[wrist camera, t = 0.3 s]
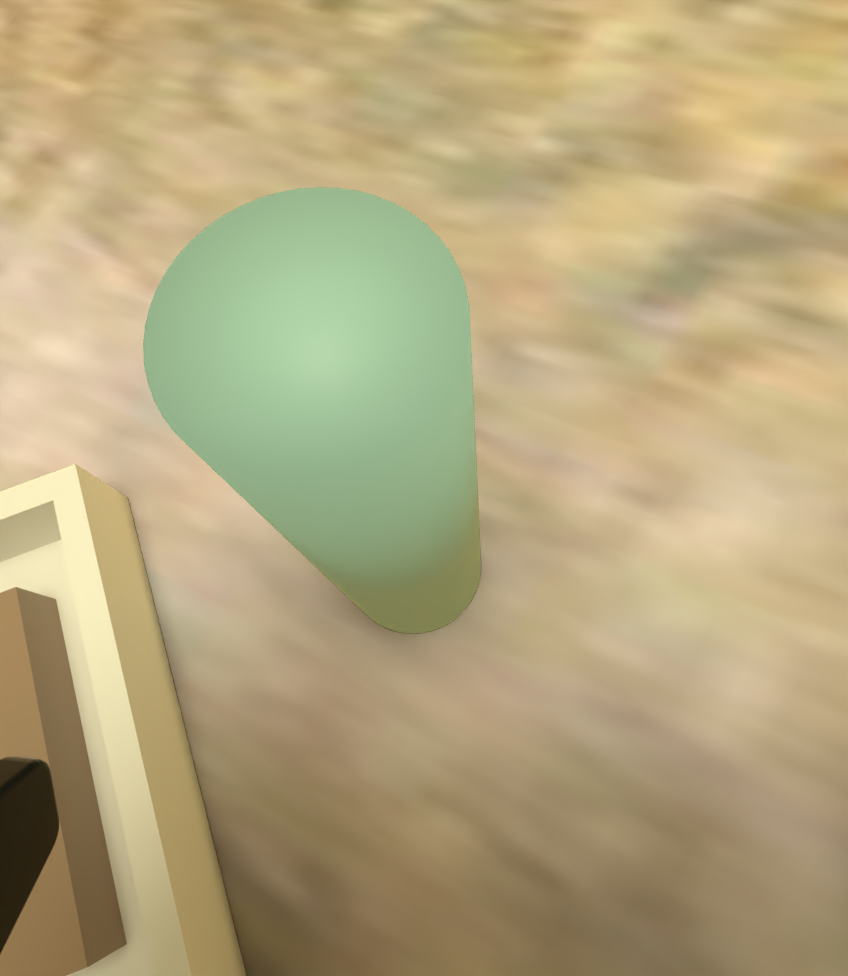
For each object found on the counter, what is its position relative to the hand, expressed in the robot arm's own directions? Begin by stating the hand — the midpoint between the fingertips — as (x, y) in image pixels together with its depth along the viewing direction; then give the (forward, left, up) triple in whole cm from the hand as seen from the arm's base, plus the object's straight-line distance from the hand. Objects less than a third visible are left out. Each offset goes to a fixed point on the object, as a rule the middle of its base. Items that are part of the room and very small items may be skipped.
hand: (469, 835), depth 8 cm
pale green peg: (+6, 0, -14) cm, 15 cm away
